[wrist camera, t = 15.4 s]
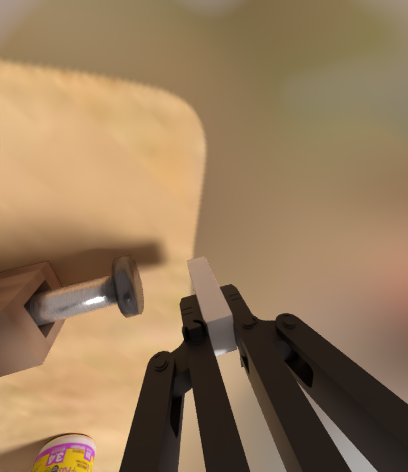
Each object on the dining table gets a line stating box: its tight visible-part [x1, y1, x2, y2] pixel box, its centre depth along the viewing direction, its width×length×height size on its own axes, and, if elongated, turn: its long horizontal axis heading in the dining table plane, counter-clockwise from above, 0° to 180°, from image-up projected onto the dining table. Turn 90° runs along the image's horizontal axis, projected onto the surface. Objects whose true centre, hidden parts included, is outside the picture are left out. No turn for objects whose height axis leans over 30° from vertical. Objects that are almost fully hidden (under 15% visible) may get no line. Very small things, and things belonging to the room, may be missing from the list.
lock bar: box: [24, 255, 144, 326], centre depth 16 cm, size 12×5×5 cm, turn 99°
